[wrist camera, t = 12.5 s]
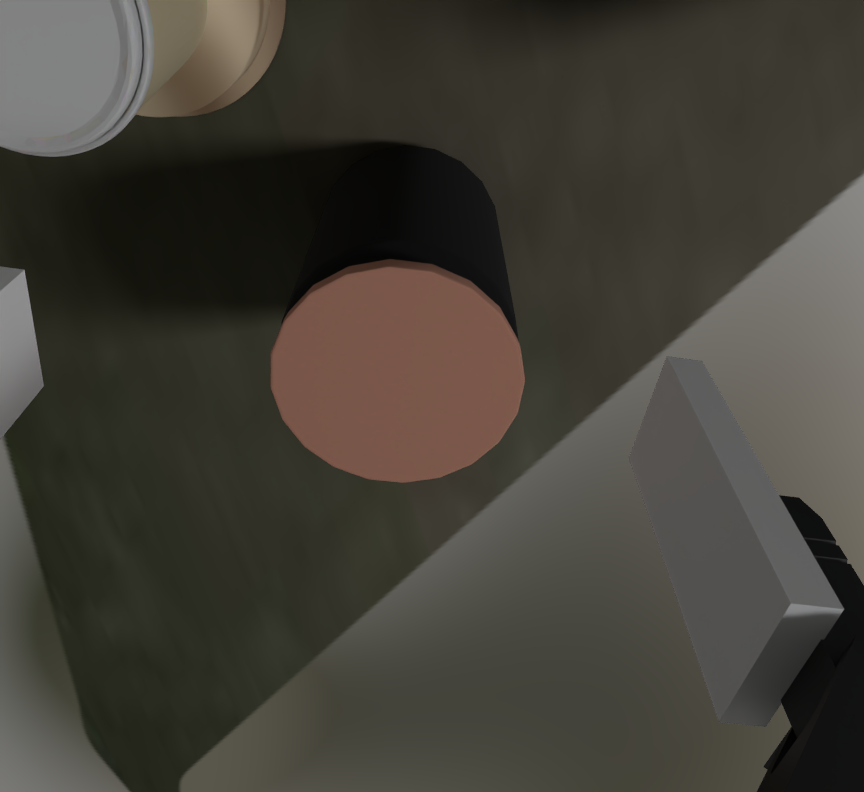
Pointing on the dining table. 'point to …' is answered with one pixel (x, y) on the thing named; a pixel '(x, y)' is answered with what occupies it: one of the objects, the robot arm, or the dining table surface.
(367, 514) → the dining table surface
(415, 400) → the coffee jar
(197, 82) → the pedestal
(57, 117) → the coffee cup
